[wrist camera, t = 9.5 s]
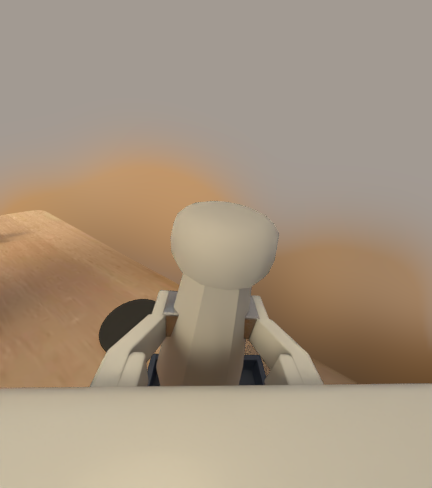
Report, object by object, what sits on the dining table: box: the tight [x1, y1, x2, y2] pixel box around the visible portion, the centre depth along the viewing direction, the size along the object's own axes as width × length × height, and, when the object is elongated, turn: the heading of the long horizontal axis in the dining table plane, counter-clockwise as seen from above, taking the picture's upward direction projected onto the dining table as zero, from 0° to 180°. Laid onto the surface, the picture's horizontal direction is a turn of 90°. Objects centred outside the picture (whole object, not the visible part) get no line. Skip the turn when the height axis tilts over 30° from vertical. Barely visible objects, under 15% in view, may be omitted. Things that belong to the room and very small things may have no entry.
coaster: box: [99, 299, 156, 352], centre depth 25 cm, size 9×9×1 cm
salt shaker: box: [156, 201, 279, 386], centre depth 9 cm, size 6×6×13 cm
